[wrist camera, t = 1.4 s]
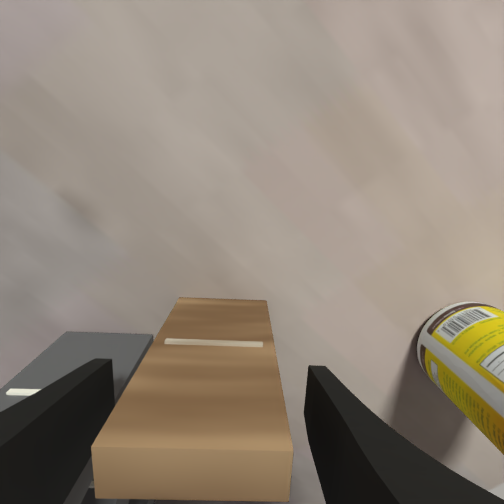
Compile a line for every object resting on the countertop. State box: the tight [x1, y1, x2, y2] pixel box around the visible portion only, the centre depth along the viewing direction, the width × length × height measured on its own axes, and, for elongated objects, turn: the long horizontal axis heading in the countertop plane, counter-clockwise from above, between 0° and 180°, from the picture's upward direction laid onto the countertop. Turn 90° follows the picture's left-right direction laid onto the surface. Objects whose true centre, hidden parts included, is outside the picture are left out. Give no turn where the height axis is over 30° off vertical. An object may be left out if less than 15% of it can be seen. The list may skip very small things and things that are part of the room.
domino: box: [0, 332, 153, 504], centre depth 13 cm, size 2×5×10 cm, turn 87°
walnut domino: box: [91, 297, 293, 502], centre depth 12 cm, size 2×5×10 cm, turn 87°
